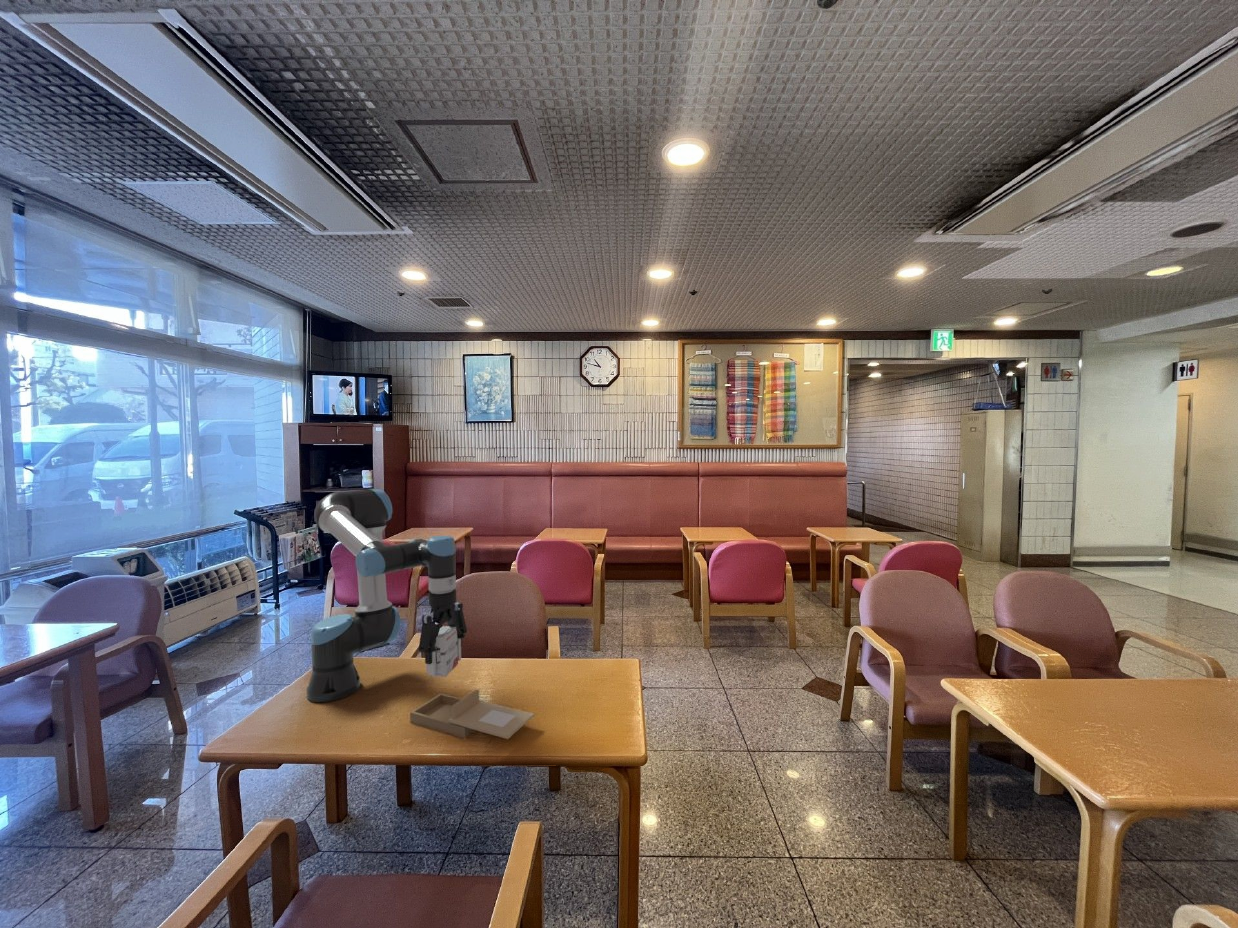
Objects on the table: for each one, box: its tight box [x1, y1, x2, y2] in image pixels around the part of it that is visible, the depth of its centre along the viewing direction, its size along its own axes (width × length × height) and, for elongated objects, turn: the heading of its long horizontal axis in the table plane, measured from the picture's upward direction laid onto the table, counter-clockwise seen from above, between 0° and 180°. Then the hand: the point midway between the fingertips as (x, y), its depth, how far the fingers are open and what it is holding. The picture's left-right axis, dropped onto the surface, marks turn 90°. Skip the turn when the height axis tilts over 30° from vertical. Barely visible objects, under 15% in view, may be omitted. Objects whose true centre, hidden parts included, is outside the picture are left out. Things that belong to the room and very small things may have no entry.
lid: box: [448, 689, 535, 740], centre depth 137 cm, size 20×12×4 cm, turn 66°
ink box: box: [429, 625, 459, 678], centre depth 143 cm, size 9×5×12 cm, turn 174°
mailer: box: [409, 693, 477, 740], centre depth 143 cm, size 20×12×3 cm, turn 66°
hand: (444, 666), depth 144 cm, fingers closed on ink box, 9 cm apart
